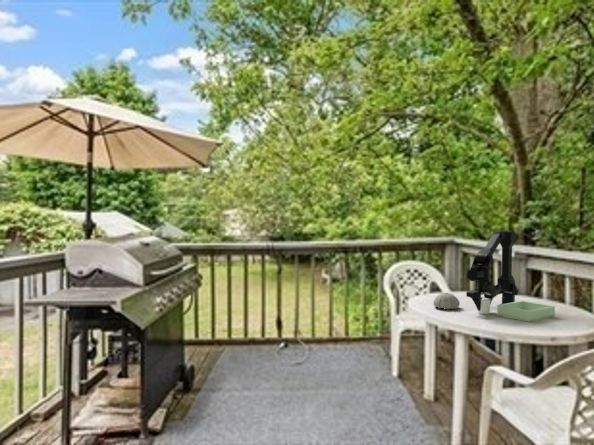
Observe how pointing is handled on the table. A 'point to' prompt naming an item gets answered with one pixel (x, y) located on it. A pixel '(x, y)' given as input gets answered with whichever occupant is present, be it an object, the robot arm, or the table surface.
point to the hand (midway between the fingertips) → (483, 309)
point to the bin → (526, 311)
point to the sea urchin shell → (446, 301)
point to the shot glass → (485, 306)
